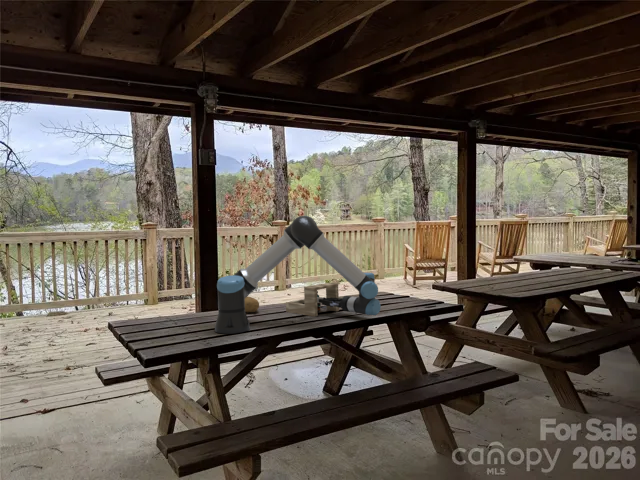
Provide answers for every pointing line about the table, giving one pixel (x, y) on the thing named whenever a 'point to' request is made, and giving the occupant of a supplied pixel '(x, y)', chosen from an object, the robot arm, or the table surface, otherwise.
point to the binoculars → (317, 303)
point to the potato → (251, 304)
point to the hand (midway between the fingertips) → (316, 299)
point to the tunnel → (313, 300)
